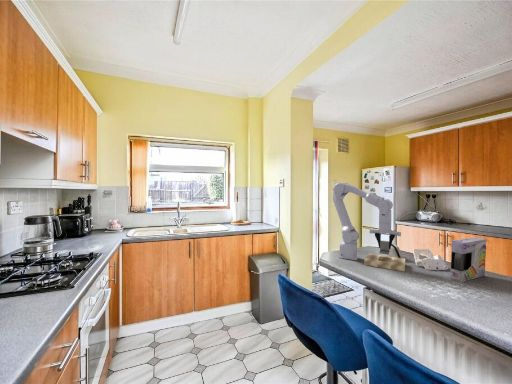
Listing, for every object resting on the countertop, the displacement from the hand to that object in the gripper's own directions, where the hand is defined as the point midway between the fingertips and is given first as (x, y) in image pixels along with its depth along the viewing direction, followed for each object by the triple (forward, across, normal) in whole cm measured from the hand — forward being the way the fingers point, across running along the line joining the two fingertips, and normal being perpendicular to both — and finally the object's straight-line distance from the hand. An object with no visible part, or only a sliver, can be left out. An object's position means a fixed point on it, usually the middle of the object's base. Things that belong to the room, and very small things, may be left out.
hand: (384, 248), depth 127 cm
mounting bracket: (+9, +20, +9) cm, 24 cm away
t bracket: (+2, 0, 0) cm, 2 cm away
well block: (+9, 0, +1) cm, 9 cm away
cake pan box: (+9, +33, 0) cm, 35 cm away
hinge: (+9, +2, +21) cm, 23 cm away
